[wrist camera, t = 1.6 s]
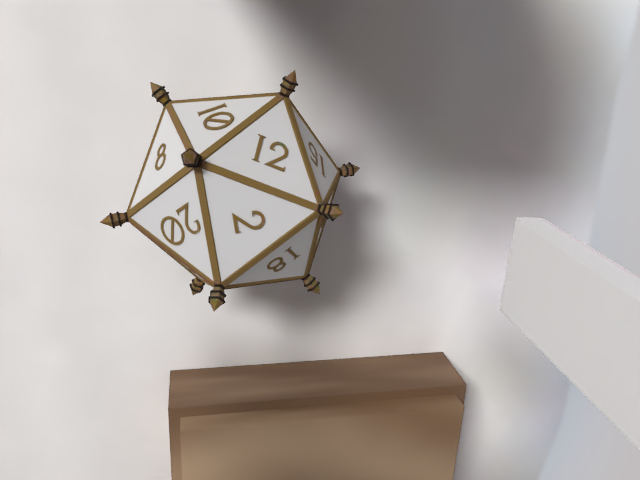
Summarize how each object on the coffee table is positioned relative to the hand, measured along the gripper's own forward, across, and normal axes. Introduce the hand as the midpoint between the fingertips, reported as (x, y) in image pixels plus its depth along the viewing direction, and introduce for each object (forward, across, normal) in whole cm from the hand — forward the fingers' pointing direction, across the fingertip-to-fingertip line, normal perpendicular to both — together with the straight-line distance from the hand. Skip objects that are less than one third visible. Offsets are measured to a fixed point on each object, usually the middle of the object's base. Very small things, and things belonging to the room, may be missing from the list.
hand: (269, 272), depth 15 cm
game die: (+12, 0, 0) cm, 12 cm away
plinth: (+12, -4, +17) cm, 21 cm away
